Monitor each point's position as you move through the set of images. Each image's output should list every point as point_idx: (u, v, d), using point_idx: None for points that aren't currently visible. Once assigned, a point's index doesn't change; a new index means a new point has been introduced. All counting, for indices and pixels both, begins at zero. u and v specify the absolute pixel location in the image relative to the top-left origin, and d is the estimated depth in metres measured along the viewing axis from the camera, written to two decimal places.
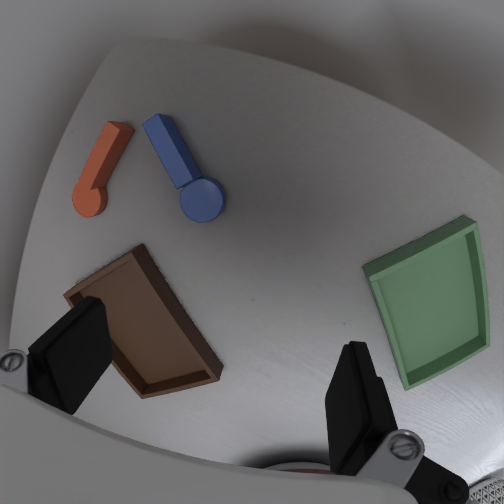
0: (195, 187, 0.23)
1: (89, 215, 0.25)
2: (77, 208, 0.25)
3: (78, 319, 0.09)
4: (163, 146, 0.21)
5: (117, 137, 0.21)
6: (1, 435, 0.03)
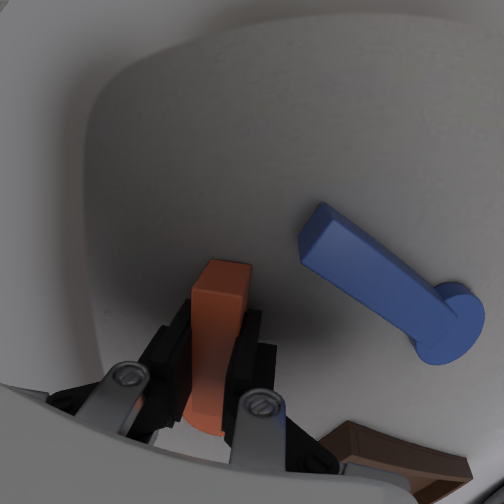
0: None
1: None
2: (206, 430, 0.13)
3: (189, 323, 0.10)
4: (382, 289, 0.08)
5: (241, 315, 0.09)
6: (1, 435, 0.03)
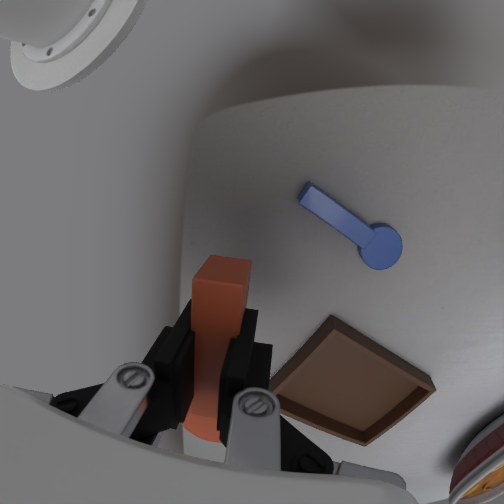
0: (372, 239, 0.22)
1: None
2: (204, 436, 0.13)
3: None
4: (334, 215, 0.21)
5: (242, 305, 0.09)
6: (1, 435, 0.03)
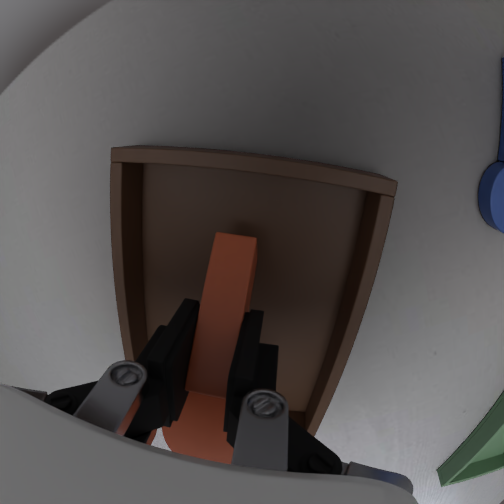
0: None
1: (229, 460, 0.10)
2: None
3: (187, 323, 0.10)
4: None
5: (254, 257, 0.11)
6: (1, 435, 0.03)
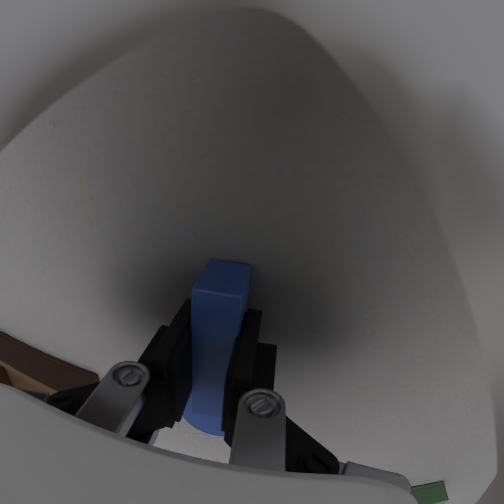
0: None
1: None
2: None
3: (189, 323, 0.10)
4: (211, 357, 0.10)
5: None
6: (1, 435, 0.03)
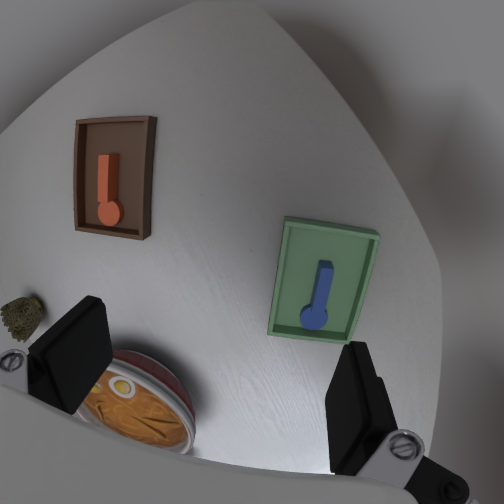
0: None
1: (115, 222, 0.36)
2: (105, 223, 0.36)
3: (78, 319, 0.09)
4: (323, 288, 0.35)
5: (109, 160, 0.32)
6: (1, 435, 0.03)
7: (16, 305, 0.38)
